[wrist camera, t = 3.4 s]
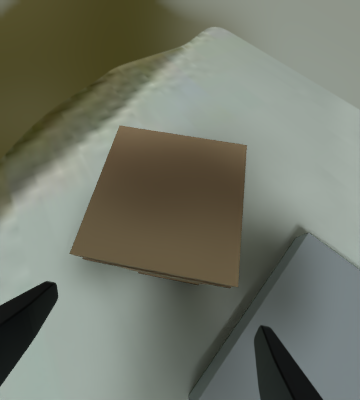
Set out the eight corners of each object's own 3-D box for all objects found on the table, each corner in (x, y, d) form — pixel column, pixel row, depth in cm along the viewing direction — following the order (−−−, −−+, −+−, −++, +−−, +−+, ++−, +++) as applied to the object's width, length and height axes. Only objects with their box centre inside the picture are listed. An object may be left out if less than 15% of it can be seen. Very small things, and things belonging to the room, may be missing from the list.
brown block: (197, 284, 17) (241, 291, 5) (140, 273, 18) (64, 256, 6) (204, 228, 19) (249, 143, 7) (153, 219, 20) (118, 123, 8)
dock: (341, 574, 12) (374, 633, 10) (188, 395, 15) (190, 412, 13) (425, 334, 16) (458, 342, 14) (296, 237, 19) (309, 232, 17)
